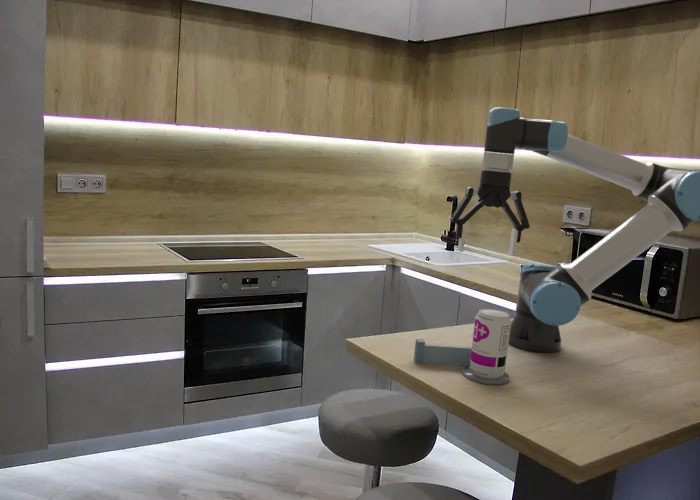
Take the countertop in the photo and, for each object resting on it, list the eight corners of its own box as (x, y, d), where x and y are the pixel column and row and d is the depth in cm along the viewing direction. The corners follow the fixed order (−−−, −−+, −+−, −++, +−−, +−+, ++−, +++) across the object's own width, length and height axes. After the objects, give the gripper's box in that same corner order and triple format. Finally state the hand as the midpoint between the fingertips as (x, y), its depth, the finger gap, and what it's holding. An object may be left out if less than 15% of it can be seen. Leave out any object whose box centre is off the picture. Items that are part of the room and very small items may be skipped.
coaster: (500, 369, 159) (501, 366, 159) (515, 386, 148) (515, 383, 148) (457, 366, 158) (457, 364, 158) (468, 383, 147) (469, 381, 147)
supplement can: (478, 380, 148) (486, 317, 145) (462, 367, 156) (470, 307, 153) (509, 379, 150) (518, 318, 147) (493, 367, 158) (501, 308, 155)
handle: (491, 364, 161) (494, 343, 160) (494, 368, 159) (496, 346, 158) (413, 360, 159) (416, 338, 159) (415, 363, 157) (417, 342, 156)
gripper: (538, 173, 167) (527, 253, 171) (445, 165, 165) (435, 246, 169) (549, 175, 160) (538, 259, 164) (452, 166, 158) (442, 251, 161)
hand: (486, 252), depth 166 cm, fingers open, 13 cm apart
